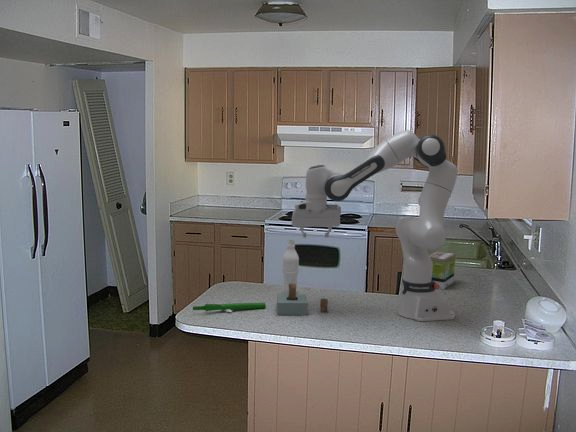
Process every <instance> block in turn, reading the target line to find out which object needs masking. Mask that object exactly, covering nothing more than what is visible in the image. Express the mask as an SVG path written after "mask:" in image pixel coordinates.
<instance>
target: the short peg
mask: <svg viewBox="0 0 576 432" xmlns="http://www.w3.org/2000/svg"><path fill="white" fill-rule="evenodd" d="M319 301H320V304H319V305H320V306H319V308H320V309H319V310H320V311H319V312H320V313H328V308H329V303H328V302H329V299H327V298H323V297H322V298H320V299H319Z"/></svg>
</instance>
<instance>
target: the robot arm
mask: <svg viewBox="0 0 576 432" xmlns="http://www.w3.org/2000/svg"><path fill="white" fill-rule="evenodd" d="M409 158H413V159H414V160H415V161H417V162H418V163H419V164H420V165H421V166H423V167H425V168H428V171H429V172H428V176H427V177H426V179H425V182H424V185H423V186H422V190H421V192H420V193H419V194H420V195H419V197H418V200H417V203H418V205H419V215H418V217H417V216H416V217H415V216H404V217H401V218H400V219H398V221H397V223H396V225H395V233H396V236H397V237H398V240H399V242H400V246H401V250H402V257H403V278H402V280H401V288H400V289H401V290H400V291H401V298H400V302H399V306H398V310H397V314H398V315H400V316H401V317H404V318H407V319H410V320H411V319H413V320H414V321H418V322H431V321H433V322H435V321H446V320H448V321H450V320H454V319H455V318H456V315H455V314H456V313H455V312H454V311H453V309H450V305H449V301H448V299H447V297H445V296H444V295H443V294H441V293H440V292H439V291H438V290H440V289H439V288H440V286H439V284H437V283H435V282H434V281H432V280H431V278H432V260H431V258H430V257H429V255H430V254H429V252H428V251H431V250H432V251H436V250H438V249H440V248H442V246H444V244H445V242H446V235H447V234H446V231H445V230H444V229H445V228H444V219H445V218H444V216H445V211H446V209H447V205H448V203H449V201H450V198H451V195H452V194H453V190H454V187H455V184H456V181H457V179H458V171H459V170H458V167H457V166H456V164H454V162H451V161H450V160H447V153H446V145H445V143H444V140H443V139H442V138H441V137H439V136H437V135H434V134H428V135H425V136H422V138H421V139H420V138H419V137H418V135H416V133H415V132H413V131H412V130H408V129H406V130H403V131H400V132H397V133H395V134H394V135H391V136H389V137H388V138H386V139H384V140H382V141H381V142H379V144H377V145H376V146H375V147H374V148H373V149H372V150H371V152H370V153H369V155H368V157H366V159H365V160H364V161H363V162H362V163H360V164H359V165H357V166H356V167H354V168H353V169H351V170H349V171H348V172H346V173H345V174H344V173H340V172H337V171H334V170H332V169H330V168H328V166H326V165H325V164H321V165H320V164H319V165H318V164H317V165H313V166H310V167H309V168H308V169H307V171H306V175H305V190H306V192H305V193H306V194H305V199H304V200H301V201H300V200H299V201H297V202H295V203H294V209H293V211H292V214H291V215H292V216H291V226H292V227H294V228H299V229H300V231H301V233H302V238H307V232H305V231H304V228H327V232H324V238H330V233H331V232H332V229H333V228H338V227H339V226H340V225H341V217H340V215H341V214H342V208H341V206H340V205H339V204H330V203H329V204H328V201H327V200H328V199H329V200H331V201H334V202H341V201H344V200H346V198H348V197H349V195H350V194H351V192H352V190H354V189H355V188H356V187H357V186H358V185H360V184H361V183H363V182H365V181H366V180H368V179H369V178H371V177H373V176H375V175H376V174H379V173H381V172H384V171H386V170H389V169H391V168H394V167H395V166H398V165H399V164H400V163H402V162H403V161H405V160H407V159H409Z"/></svg>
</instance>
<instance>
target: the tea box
mask: <svg viewBox="0 0 576 432" xmlns="http://www.w3.org/2000/svg"><path fill="white" fill-rule="evenodd" d="M429 257H430V258H431V260H432V278H431V280H432V281H434V282H435V283H437V284H439V286H440V288H439V289H438V290H445V289H446V288H447V287H449V286H450V285H452V284H453V283H454V281H455V280H454V279H455V278H454V277H455V267H456V266H455V265H456V254H455V253H451V252H443V251H436V250H435V252H432V253H431V254H429Z"/></svg>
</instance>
